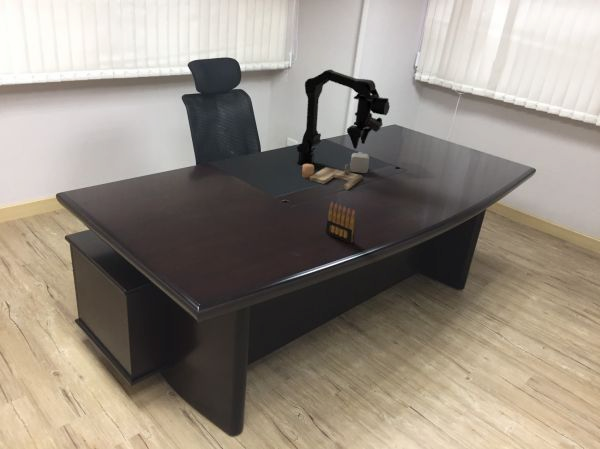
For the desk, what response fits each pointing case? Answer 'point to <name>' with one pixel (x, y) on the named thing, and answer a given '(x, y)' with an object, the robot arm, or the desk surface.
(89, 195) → the desk surface
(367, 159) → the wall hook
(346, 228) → the ammunition clip
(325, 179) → the pale wood u-shaped block
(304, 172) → the tan rounded cone
